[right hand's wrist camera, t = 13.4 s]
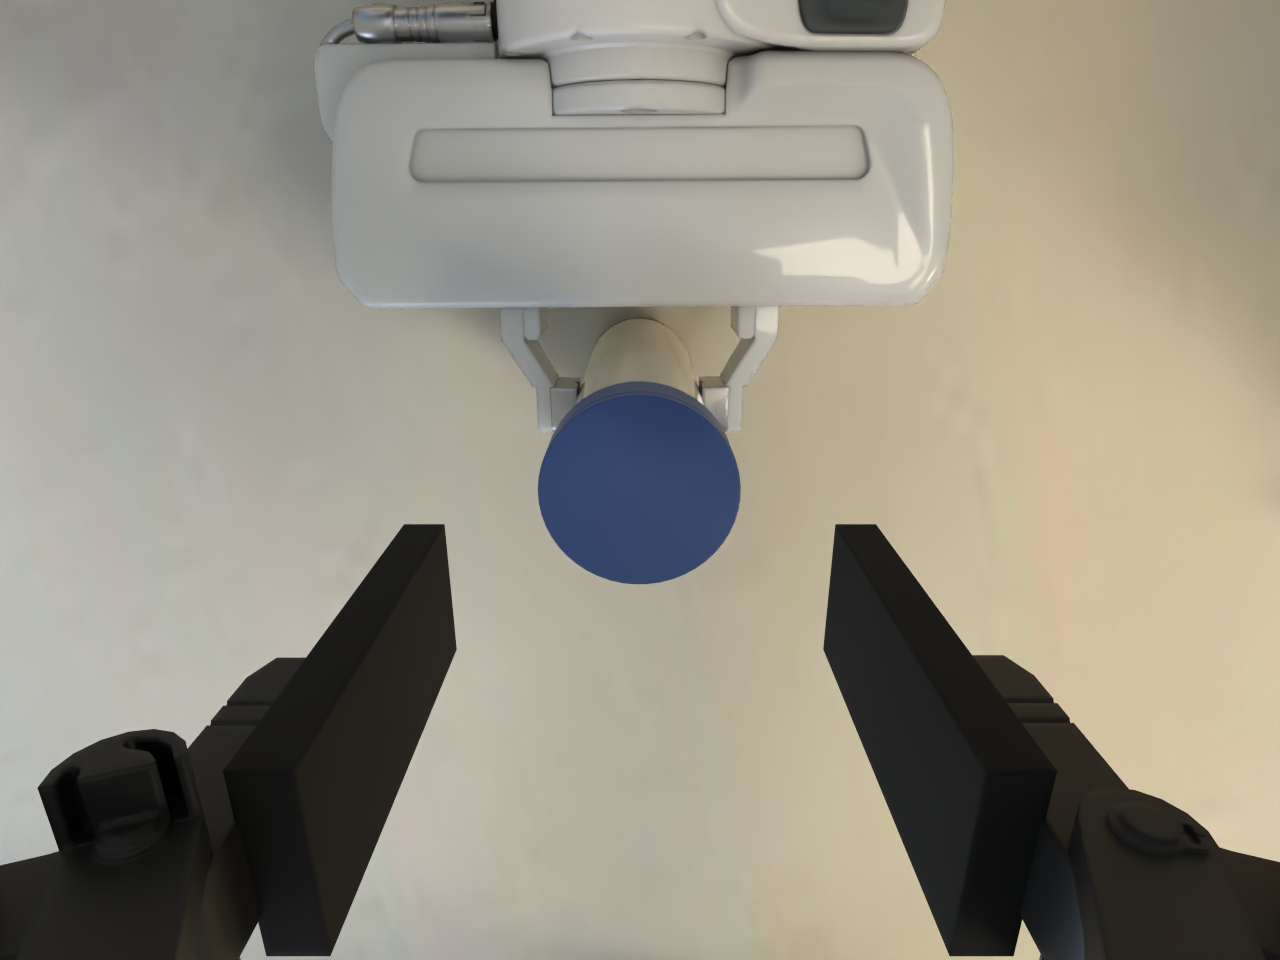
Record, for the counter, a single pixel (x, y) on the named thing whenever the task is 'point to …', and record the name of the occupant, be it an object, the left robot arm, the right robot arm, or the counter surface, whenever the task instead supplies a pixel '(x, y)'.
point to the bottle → (639, 358)
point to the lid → (639, 483)
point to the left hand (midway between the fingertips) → (640, 428)
